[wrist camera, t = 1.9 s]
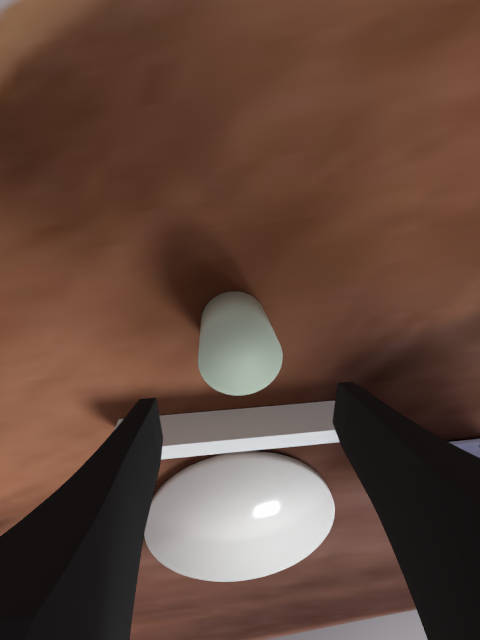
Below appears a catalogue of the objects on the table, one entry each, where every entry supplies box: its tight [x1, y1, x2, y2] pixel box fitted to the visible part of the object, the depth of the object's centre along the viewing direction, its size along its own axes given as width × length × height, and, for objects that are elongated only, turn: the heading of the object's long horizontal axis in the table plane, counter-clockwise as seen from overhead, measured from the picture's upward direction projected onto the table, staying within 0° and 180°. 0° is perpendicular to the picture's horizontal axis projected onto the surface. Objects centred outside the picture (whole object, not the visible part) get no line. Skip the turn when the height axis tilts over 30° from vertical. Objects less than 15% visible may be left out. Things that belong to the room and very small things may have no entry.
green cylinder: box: [198, 291, 283, 396], centre depth 17 cm, size 4×4×5 cm
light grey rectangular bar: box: [114, 401, 340, 459], centre depth 21 cm, size 18×1×3 cm, turn 92°
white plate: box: [144, 451, 335, 582], centre depth 27 cm, size 18×18×1 cm
